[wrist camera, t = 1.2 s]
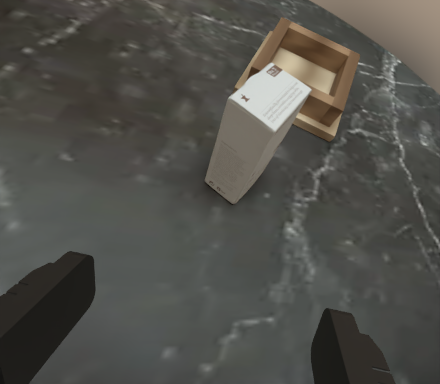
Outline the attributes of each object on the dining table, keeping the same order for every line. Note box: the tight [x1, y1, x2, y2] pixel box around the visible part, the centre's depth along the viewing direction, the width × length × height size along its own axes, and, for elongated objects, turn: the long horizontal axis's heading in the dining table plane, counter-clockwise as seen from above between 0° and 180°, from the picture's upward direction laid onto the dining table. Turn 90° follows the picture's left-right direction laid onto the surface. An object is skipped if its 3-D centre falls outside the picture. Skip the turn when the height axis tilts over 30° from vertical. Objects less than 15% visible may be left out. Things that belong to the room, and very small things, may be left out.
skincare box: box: [205, 63, 312, 204], centre depth 25 cm, size 6×4×12 cm
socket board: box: [233, 17, 360, 142], centre depth 37 cm, size 14×14×4 cm
